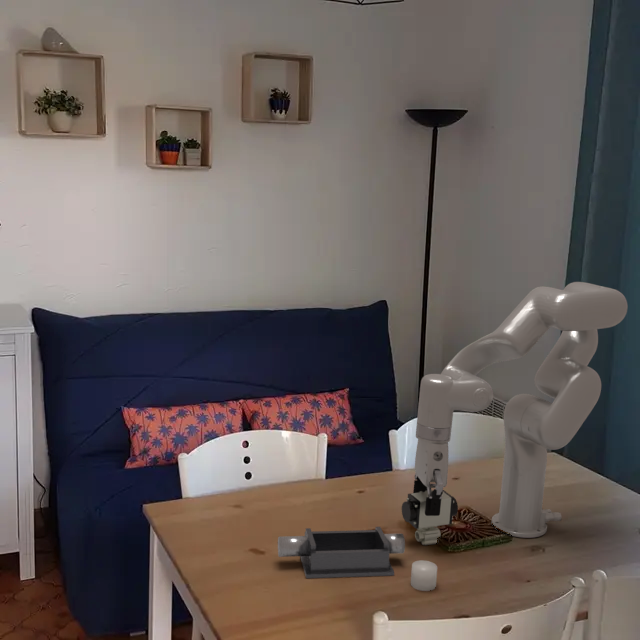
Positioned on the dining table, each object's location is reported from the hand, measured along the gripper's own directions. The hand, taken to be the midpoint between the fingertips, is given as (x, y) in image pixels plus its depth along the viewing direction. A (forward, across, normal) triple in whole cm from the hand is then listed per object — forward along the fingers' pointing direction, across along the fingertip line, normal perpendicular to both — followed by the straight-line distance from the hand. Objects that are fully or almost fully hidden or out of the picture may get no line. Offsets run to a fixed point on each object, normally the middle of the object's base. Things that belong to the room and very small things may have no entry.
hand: (425, 506), depth 184 cm
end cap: (+9, -19, +5) cm, 21 cm away
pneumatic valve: (+8, 0, -1) cm, 9 cm away
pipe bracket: (+9, -9, +19) cm, 23 cm away
